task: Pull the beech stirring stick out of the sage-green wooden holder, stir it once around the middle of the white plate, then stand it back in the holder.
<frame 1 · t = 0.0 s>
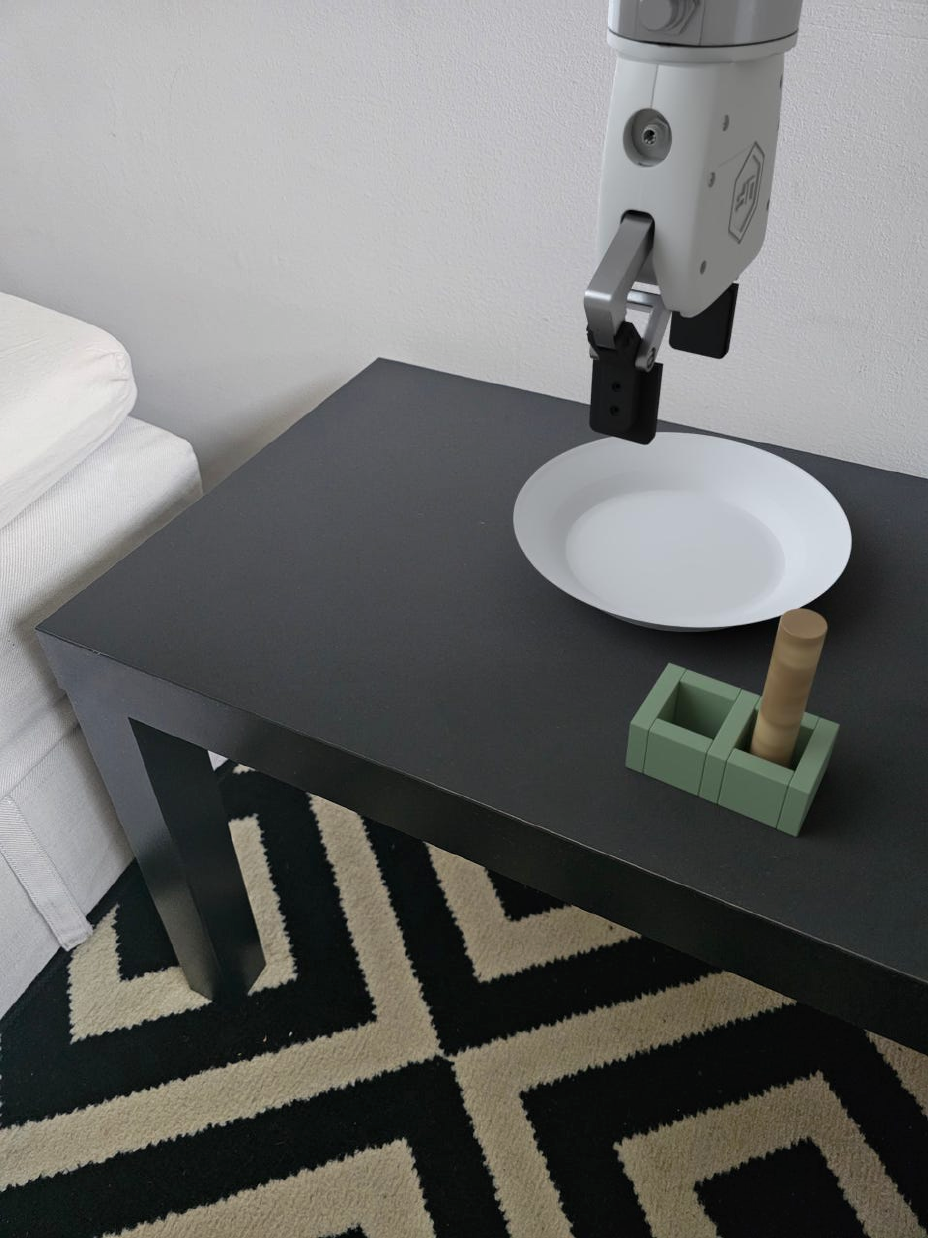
hand: (661, 391, 51), 23 cm above the table, tool pointing down, fingers open, 9 cm apart
holder: (725, 767, 62), on the table
stick: (763, 782, 61), resting in holder
white plate: (673, 557, 79), on the table
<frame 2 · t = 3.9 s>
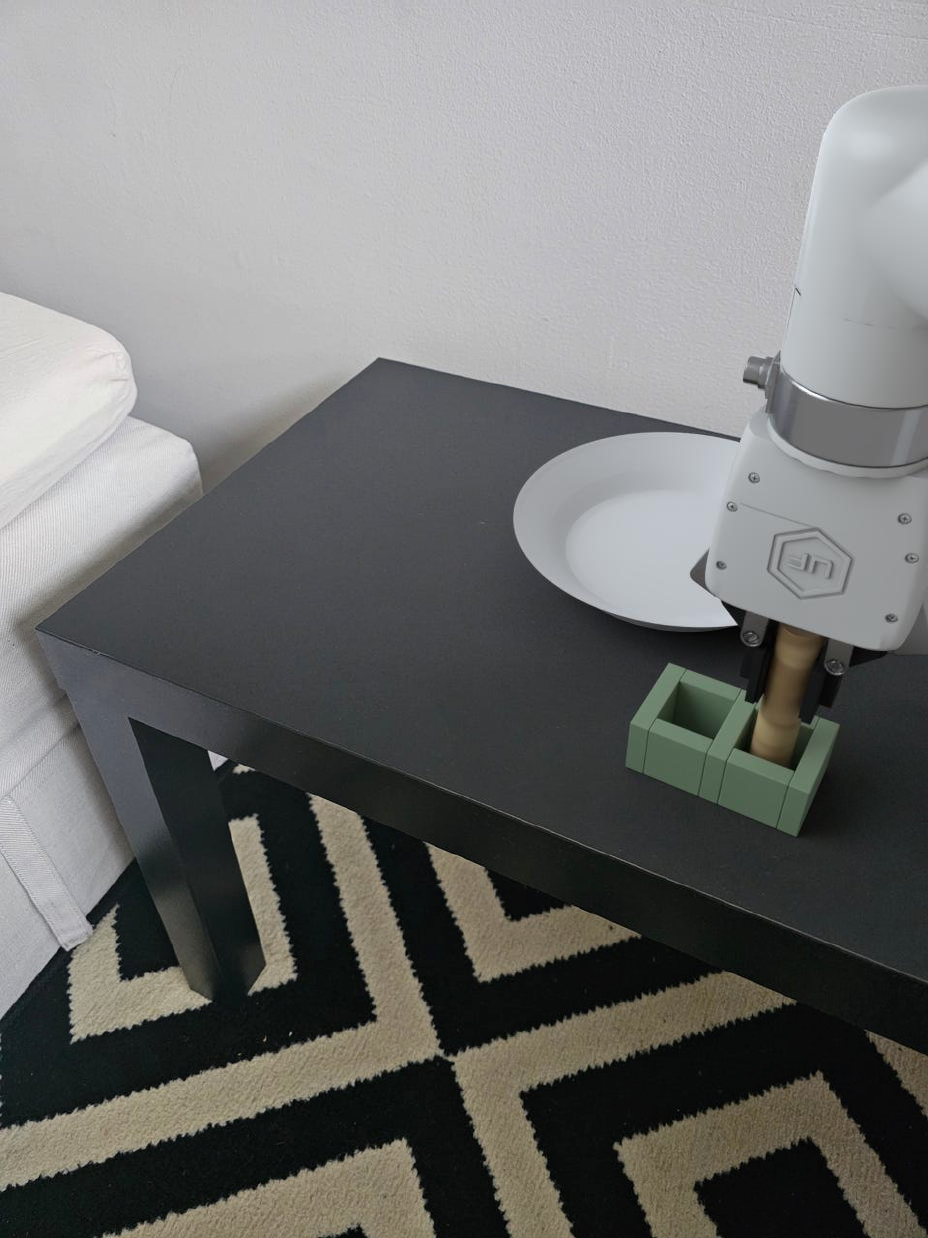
hand: (785, 695, 56), 8 cm above the table, tool pointing down, fingers closed on stick, 2 cm apart
stick: (763, 782, 61), resting in holder, touching gripper
everything else where it was.
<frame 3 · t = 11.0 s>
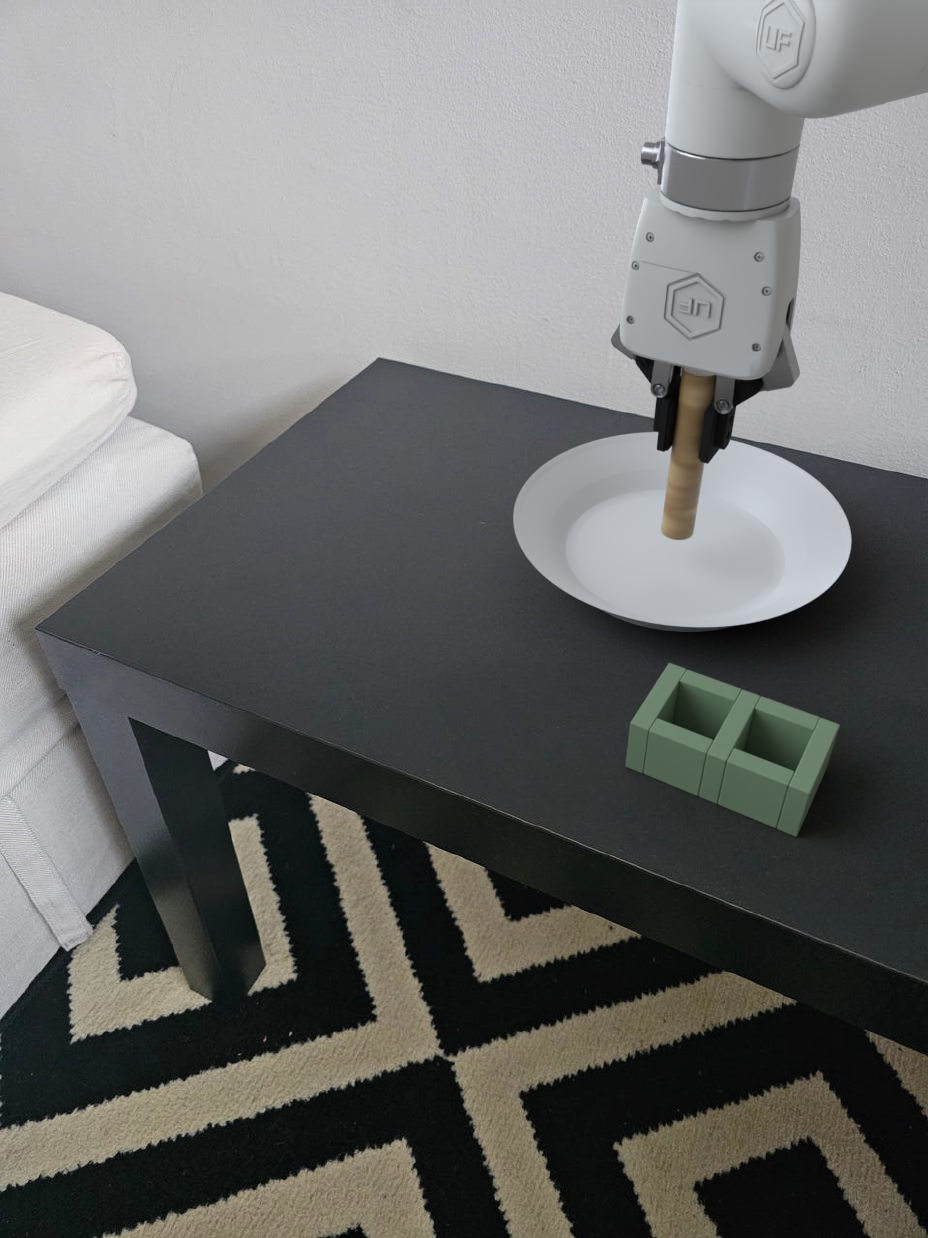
hand: (690, 445, 70), 11 cm above the table, tool pointing down, fingers closed on stick, 2 cm apart
stick: (677, 531, 75), point 4 cm above the table, touching gripper
everything else where it was.
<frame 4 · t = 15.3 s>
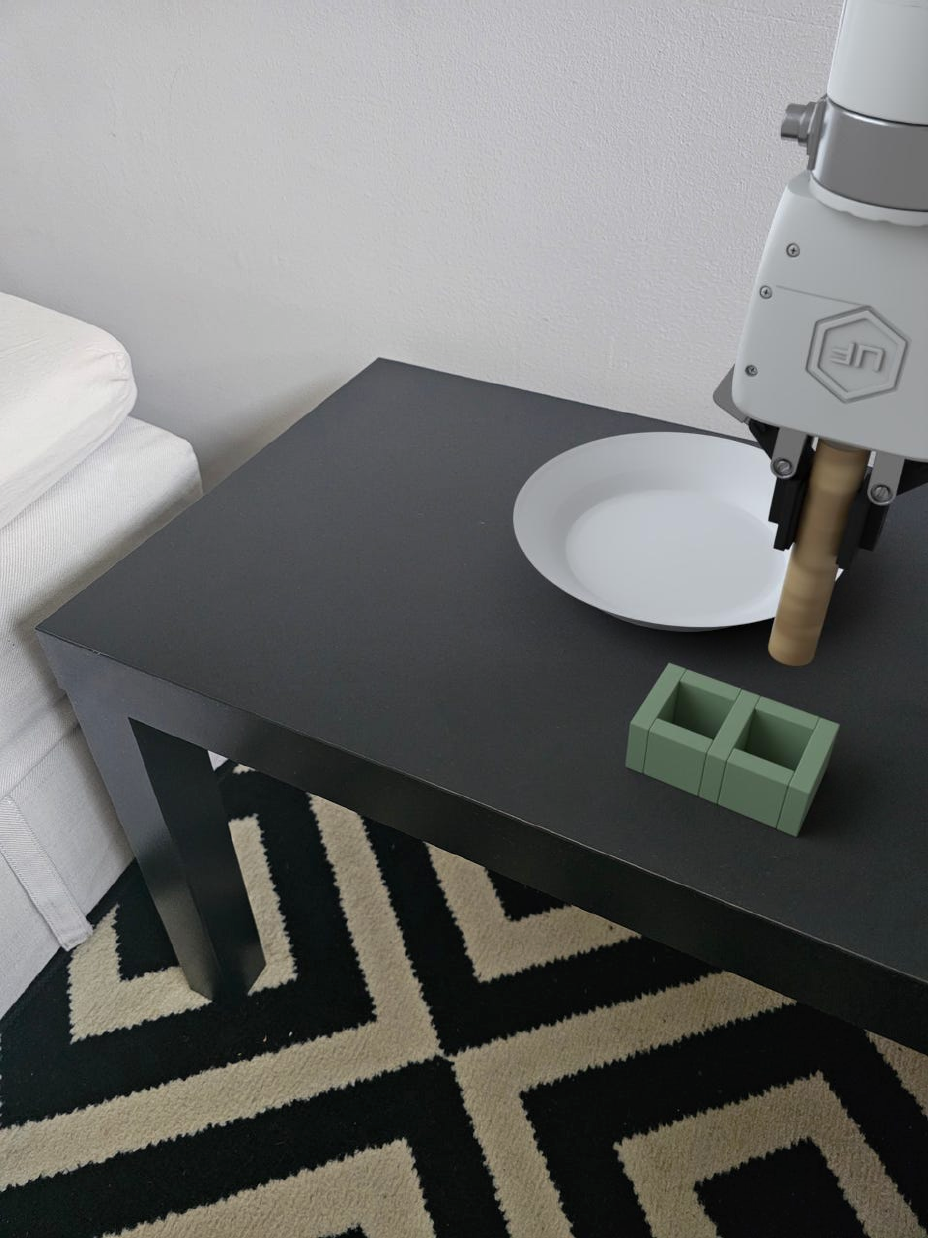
hand: (819, 542, 50), 18 cm above the table, tool pointing down, fingers closed on stick, 2 cm apart
stick: (790, 651, 54), point 11 cm above the table, touching gripper
everything else where it was.
when the fingers open (7 cm above the table, at t = 18.4 s): stick stays where it is, resting in holder.
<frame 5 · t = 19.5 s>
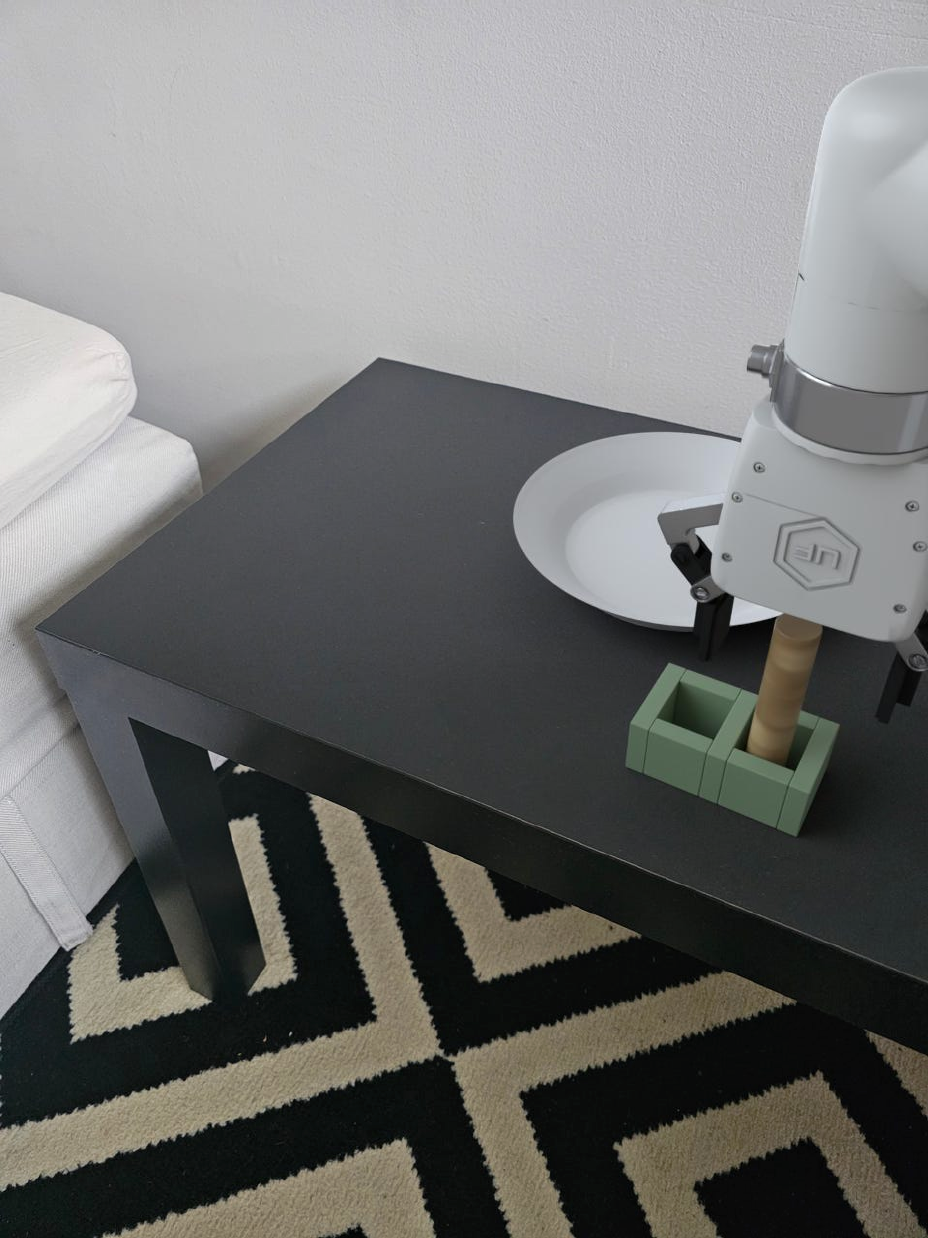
hand: (797, 675, 55), 9 cm above the table, tool pointing down, fingers open, 9 cm apart
stick: (758, 785, 61), resting in holder
everything else where it was.
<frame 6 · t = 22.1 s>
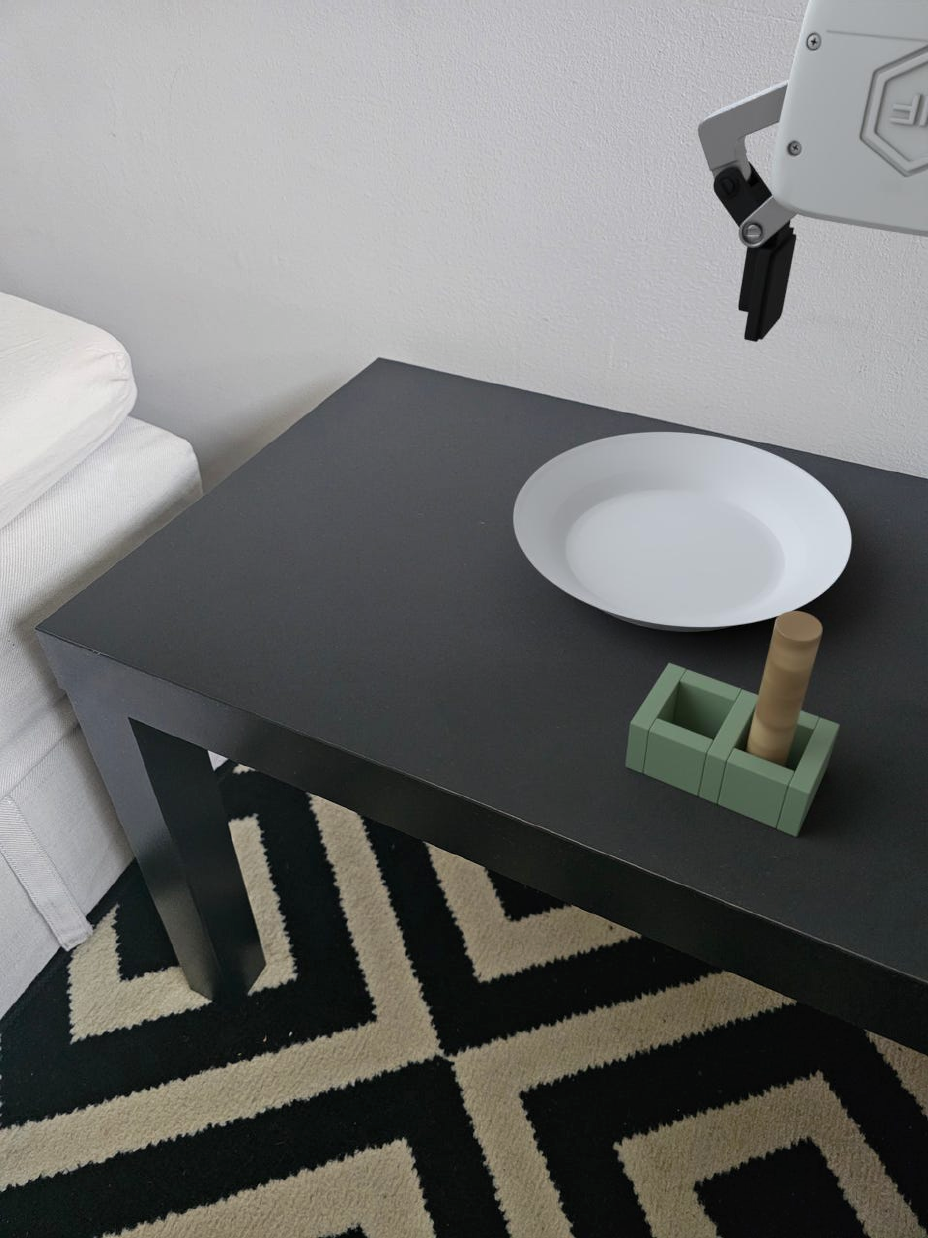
hand: (873, 352, 43), 28 cm above the table, tool pointing down, fingers open, 9 cm apart
nothing on the table moved.
at the end: stick 0.4 cm from the target spot in the holder, point 0.0 cm above the holder's base; the gripper is holding nothing; white plate moved 0.2 cm from its start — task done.
